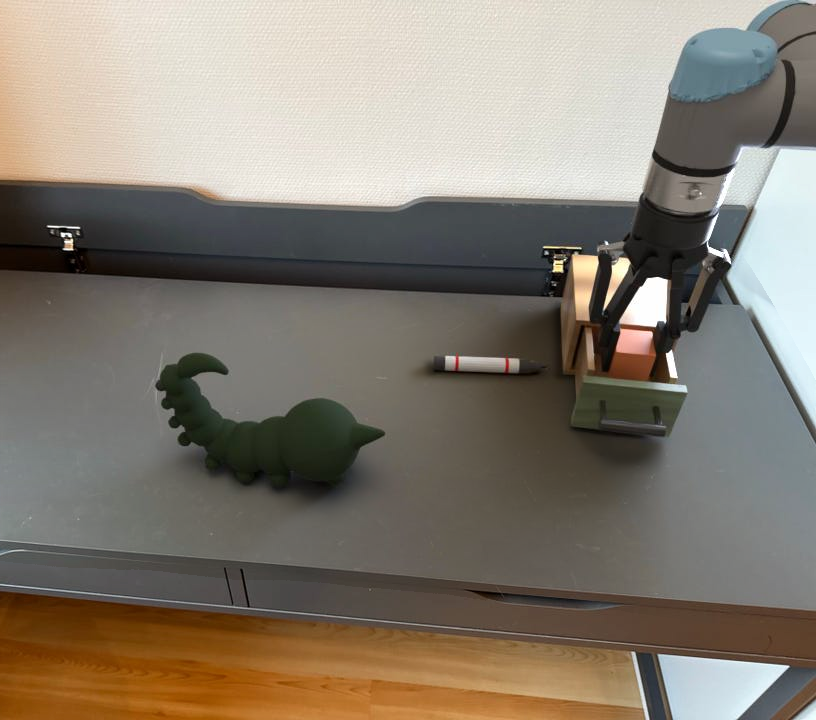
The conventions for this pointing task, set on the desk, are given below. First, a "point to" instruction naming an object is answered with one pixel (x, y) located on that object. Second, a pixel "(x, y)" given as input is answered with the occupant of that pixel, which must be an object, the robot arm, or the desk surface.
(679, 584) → the desk surface
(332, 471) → the toy figurine
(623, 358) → the block
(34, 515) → the desk surface
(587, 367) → the drawer
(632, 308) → the cabinet
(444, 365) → the marker
